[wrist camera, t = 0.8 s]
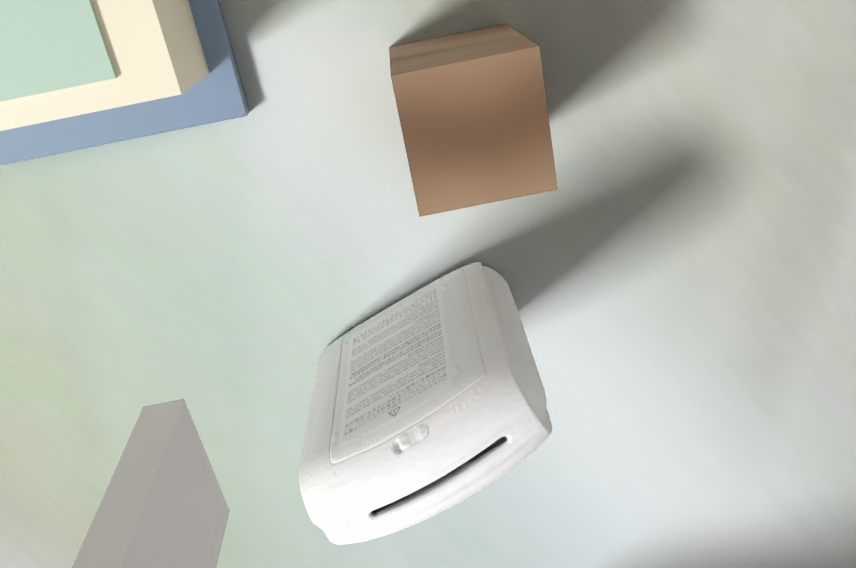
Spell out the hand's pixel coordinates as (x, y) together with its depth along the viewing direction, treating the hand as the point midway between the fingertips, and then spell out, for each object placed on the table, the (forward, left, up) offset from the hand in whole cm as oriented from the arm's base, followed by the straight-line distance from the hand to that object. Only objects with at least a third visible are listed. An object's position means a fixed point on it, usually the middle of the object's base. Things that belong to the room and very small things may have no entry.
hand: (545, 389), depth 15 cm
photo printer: (-10, +3, -23) cm, 25 cm away
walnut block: (+1, -1, -22) cm, 22 cm away
